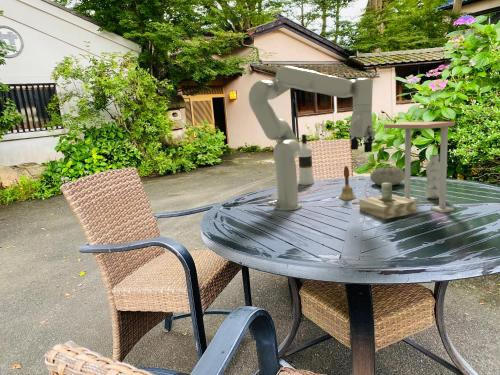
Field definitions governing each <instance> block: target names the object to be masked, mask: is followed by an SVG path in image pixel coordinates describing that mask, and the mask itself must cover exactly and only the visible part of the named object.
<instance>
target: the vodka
mask: <svg viewBox="0 0 500 375" xmlns="http://www.w3.org/2000/svg"><path fill="white" fill-rule="evenodd" d="M307 143H308V141H307V134H302V135H301V146H300V152H299V154H298V155H297V157H298V173H299V174H298V175H299V177H298V184H299V185H300V186H311V185H313V184H315V179H314V172H313V171H314V170H313V157H312V156H313V150H312V148H311V147H310V146H308V144H307Z"/></svg>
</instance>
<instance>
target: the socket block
mask: <svg viewBox="0 0 500 375" xmlns="http://www.w3.org/2000/svg"><path fill="white" fill-rule="evenodd" d="M404 197H405V196H400V195H398V194H393V193H392V201H391V202H383V201H382V194H380V195H376V196H369V197H364V198H359V202H358V203H359V211H360V212H363V211H364V212H363V213H366V214H369V215H372V216H374V217H377V218H379V219H381V220H387V219H391V218H392V219H393V218H397V217H402V216H403V217H404V216H408V215H409V216H410V215H414V214H417V213H418V210H417V209H418V205H417V204H418V202H417V201H415V200H411V199H407V198H404Z"/></svg>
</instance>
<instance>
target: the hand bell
mask: <svg viewBox="0 0 500 375" xmlns="http://www.w3.org/2000/svg"><path fill="white" fill-rule="evenodd" d="M343 176H344V180H345V181H344V184H345V185H344V186H343V187H342V188H341V189H342V191H341V193H340V195H339V196H338V199H339V200H343V201H346V200H347V201H351V200H355V199H357V197H356V195H355V194H354V193H353V192H354V191H353V187H352V186H350V184H349V183H350V182H349V177H350V170H349V167H348V165H346V166H344V168H343Z"/></svg>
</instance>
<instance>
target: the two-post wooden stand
mask: <svg viewBox="0 0 500 375" xmlns="http://www.w3.org/2000/svg"><path fill="white" fill-rule="evenodd" d="M455 125H456V121H405V122H403V121H402V122H396V123H387V124H386V123H385V124H383V128H384V129H404V174H405V178H404V196H403V197H404V198H407V199H411V200H415V201H418V197H413V196H411V178H412V177H411V176H412V175H411V164H412V163H411V162H412V161H411V159H412V158H411V157H412V156H411V155H412V154H411V153H412V151H411V150H412V145H411V144H412V140H411V139H412V129H415V130H416V129H417V130H418V129H420V130H423V129H424V130H428V129H437V128H440V150H439V151H440V154H439V162H440V185H439V198H438V205H435V206H430V210H431V211H435V212H439V213H449V212H453V211H455V207H452V206H448V205H446V203H447V201H446V200H447V170H448V166H447V165H448V140H449V139H448V135H449V134H448V132H449V130H448V129H449V127H453V126H454V127H455Z"/></svg>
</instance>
